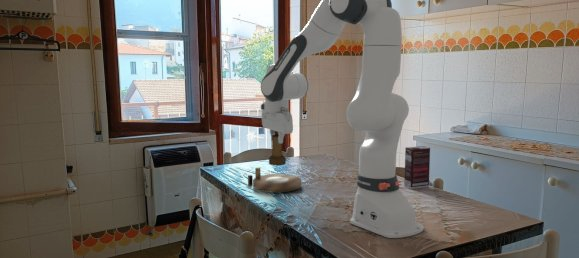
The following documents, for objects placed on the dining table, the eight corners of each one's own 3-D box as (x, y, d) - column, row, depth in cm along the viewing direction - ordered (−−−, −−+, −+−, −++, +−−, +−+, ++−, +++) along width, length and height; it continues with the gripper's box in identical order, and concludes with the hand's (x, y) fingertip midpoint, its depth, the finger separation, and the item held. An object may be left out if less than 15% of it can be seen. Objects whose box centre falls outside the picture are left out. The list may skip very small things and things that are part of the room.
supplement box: (421, 184, 167) (423, 145, 165) (429, 187, 163) (431, 147, 160) (403, 186, 164) (404, 147, 162) (410, 189, 160) (412, 149, 157)
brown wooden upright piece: (283, 166, 157) (283, 119, 155) (267, 165, 159) (266, 118, 156) (287, 162, 164) (286, 117, 161) (271, 161, 165) (270, 116, 162)
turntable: (308, 181, 167) (308, 167, 167) (290, 194, 150) (290, 178, 149) (266, 176, 175) (266, 163, 174) (244, 188, 157) (243, 173, 157)
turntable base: (298, 189, 160) (298, 179, 160) (263, 194, 153) (263, 184, 153) (280, 180, 173) (280, 171, 172) (248, 184, 166) (247, 175, 166)
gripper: (297, 108, 150) (297, 145, 152) (272, 104, 168) (273, 137, 170) (281, 109, 147) (281, 147, 149) (258, 104, 165) (259, 138, 167)
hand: (277, 142), depth 160 cm, fingers closed on brown wooden upright piece, 4 cm apart
